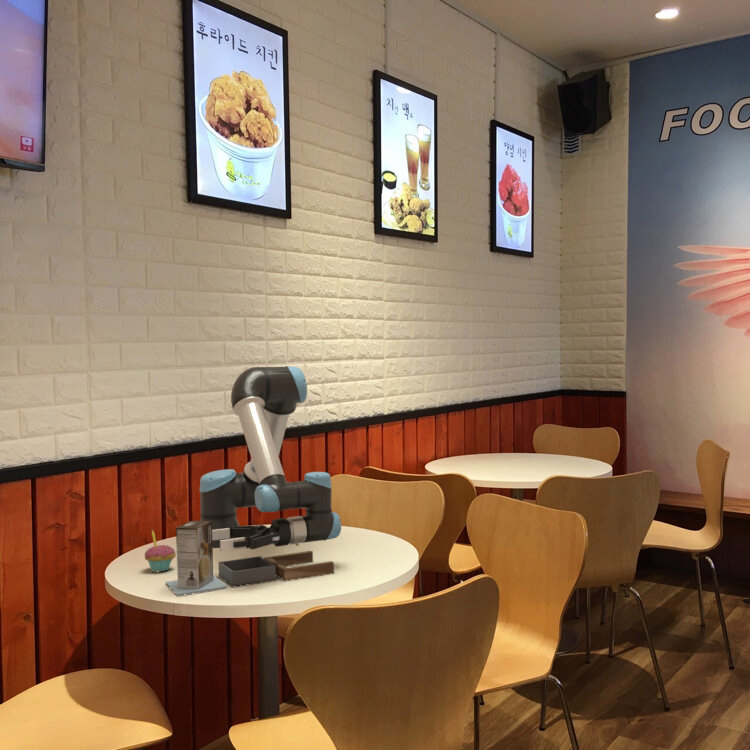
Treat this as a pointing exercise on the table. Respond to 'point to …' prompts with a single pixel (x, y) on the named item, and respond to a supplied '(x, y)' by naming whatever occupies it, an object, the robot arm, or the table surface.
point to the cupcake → (159, 556)
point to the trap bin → (247, 571)
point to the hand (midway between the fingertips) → (213, 540)
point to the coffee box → (194, 554)
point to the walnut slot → (299, 571)
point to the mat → (209, 586)
